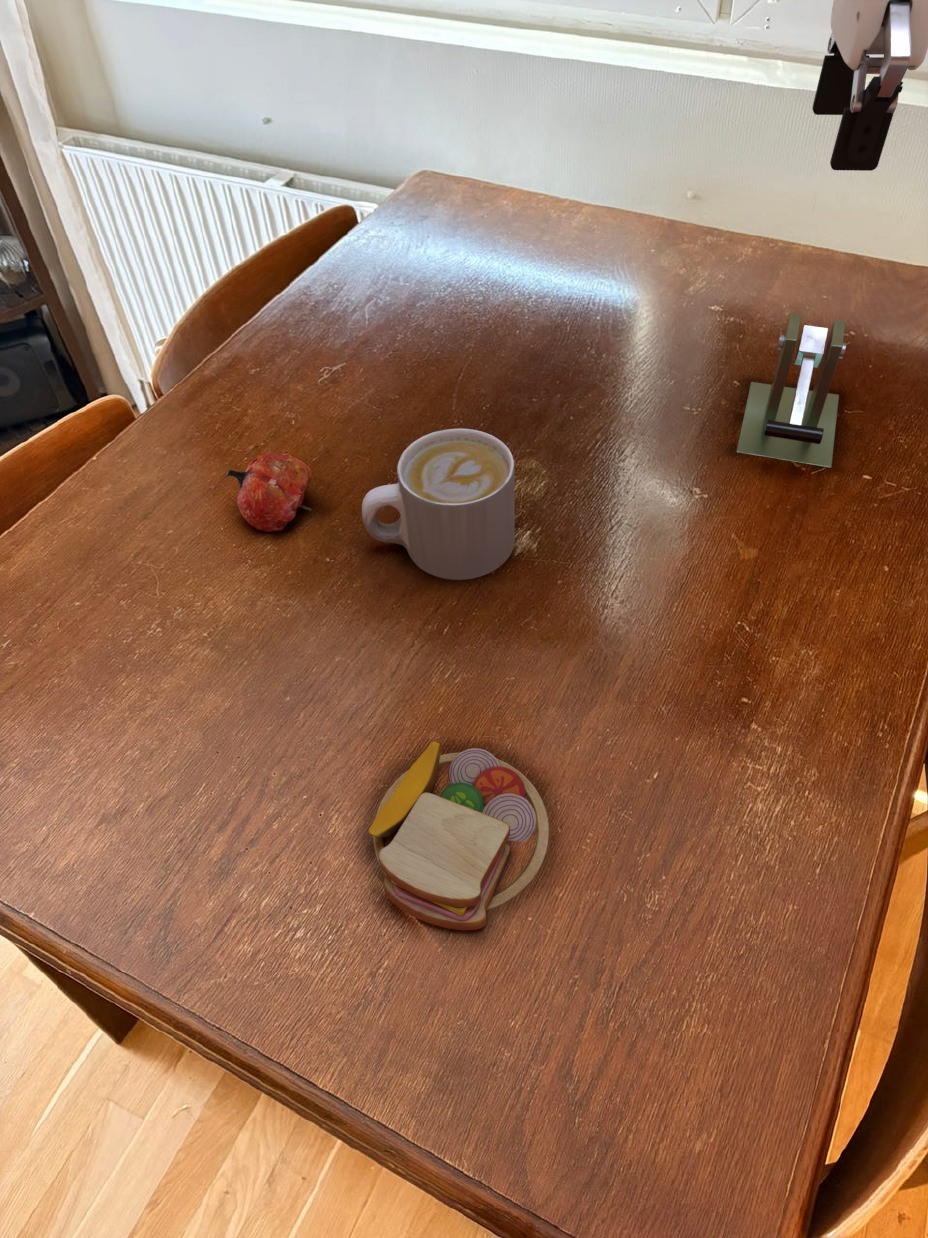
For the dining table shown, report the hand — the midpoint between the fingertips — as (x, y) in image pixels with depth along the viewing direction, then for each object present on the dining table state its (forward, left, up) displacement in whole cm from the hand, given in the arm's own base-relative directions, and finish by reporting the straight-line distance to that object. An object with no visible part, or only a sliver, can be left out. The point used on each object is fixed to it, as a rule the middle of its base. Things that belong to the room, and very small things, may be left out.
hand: (842, 139), depth 67 cm
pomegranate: (+27, +39, -30) cm, 56 cm away
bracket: (0, -5, -30) cm, 30 cm away
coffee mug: (+13, +31, -30) cm, 45 cm away
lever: (-2, -2, -23) cm, 23 cm away
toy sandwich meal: (-10, +50, -30) cm, 60 cm away
